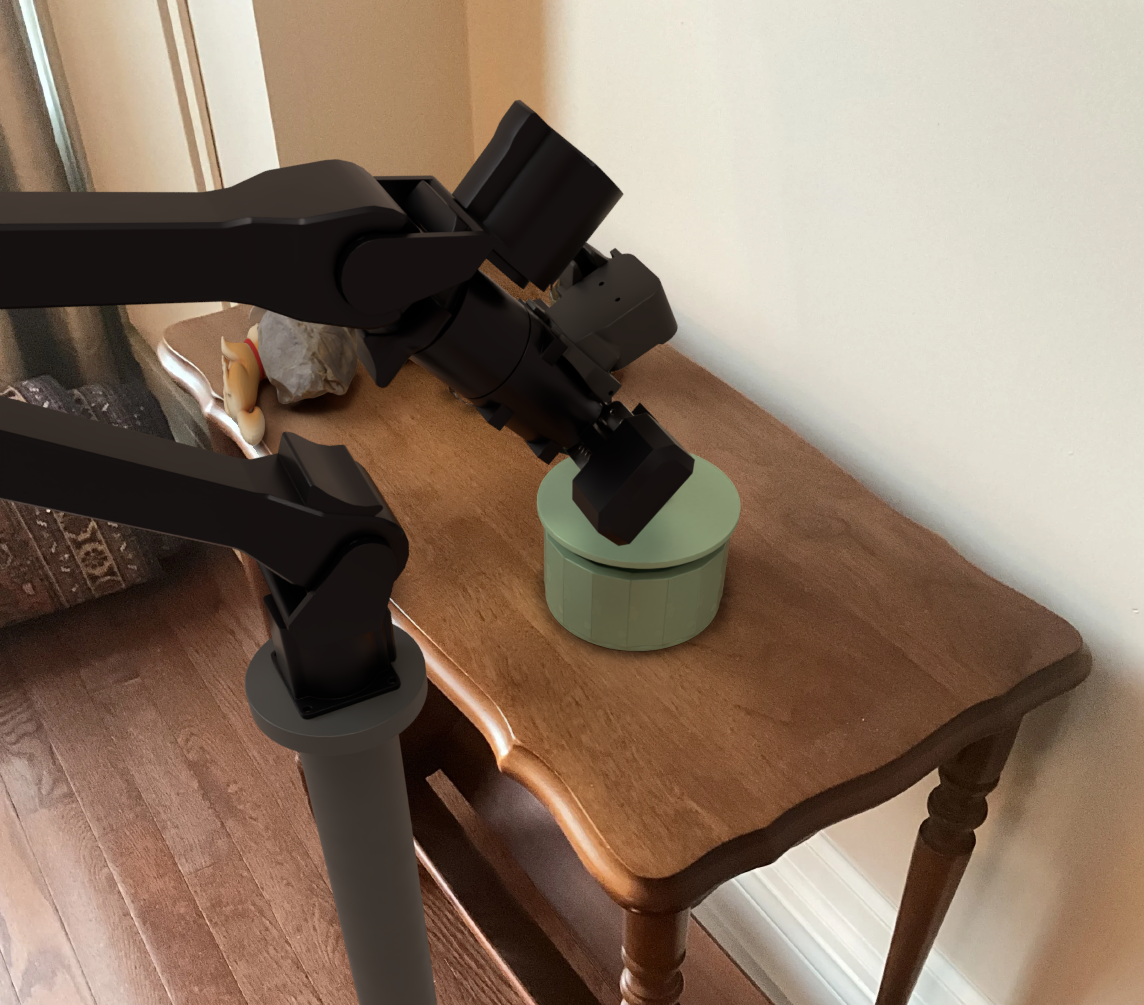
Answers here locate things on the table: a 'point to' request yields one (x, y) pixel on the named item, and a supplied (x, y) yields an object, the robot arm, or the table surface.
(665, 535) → the lid
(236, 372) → the toy
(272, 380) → the stone
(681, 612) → the pot
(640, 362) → the table surface
